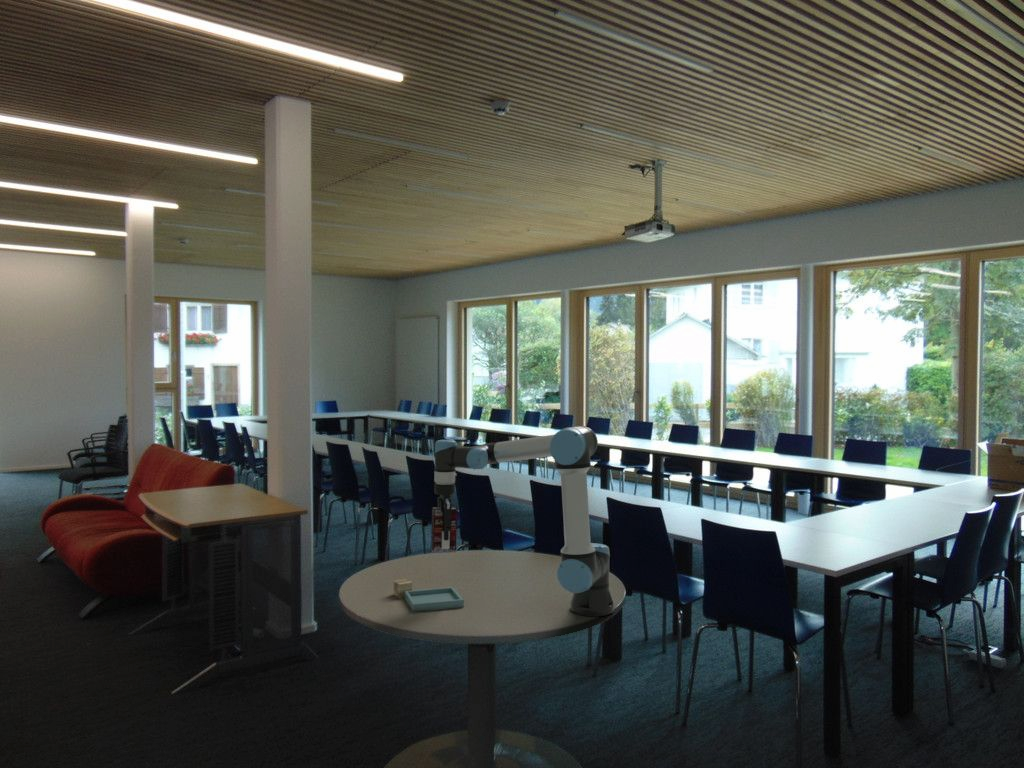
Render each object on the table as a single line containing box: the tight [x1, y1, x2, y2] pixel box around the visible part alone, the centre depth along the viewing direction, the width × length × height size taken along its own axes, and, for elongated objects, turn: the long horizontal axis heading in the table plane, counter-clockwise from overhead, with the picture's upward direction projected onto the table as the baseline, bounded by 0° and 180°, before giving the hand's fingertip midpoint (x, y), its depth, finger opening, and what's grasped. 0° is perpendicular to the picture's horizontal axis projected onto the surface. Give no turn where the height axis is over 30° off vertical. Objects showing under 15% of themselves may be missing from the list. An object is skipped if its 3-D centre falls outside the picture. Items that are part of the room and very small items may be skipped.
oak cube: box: [393, 578, 413, 599], centre depth 276 cm, size 5×5×5 cm
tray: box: [404, 586, 465, 613], centre depth 268 cm, size 16×18×2 cm
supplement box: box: [430, 506, 458, 554], centre depth 270 cm, size 9×5×16 cm, turn 106°
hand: (443, 546), depth 271 cm, fingers closed on supplement box, 5 cm apart
